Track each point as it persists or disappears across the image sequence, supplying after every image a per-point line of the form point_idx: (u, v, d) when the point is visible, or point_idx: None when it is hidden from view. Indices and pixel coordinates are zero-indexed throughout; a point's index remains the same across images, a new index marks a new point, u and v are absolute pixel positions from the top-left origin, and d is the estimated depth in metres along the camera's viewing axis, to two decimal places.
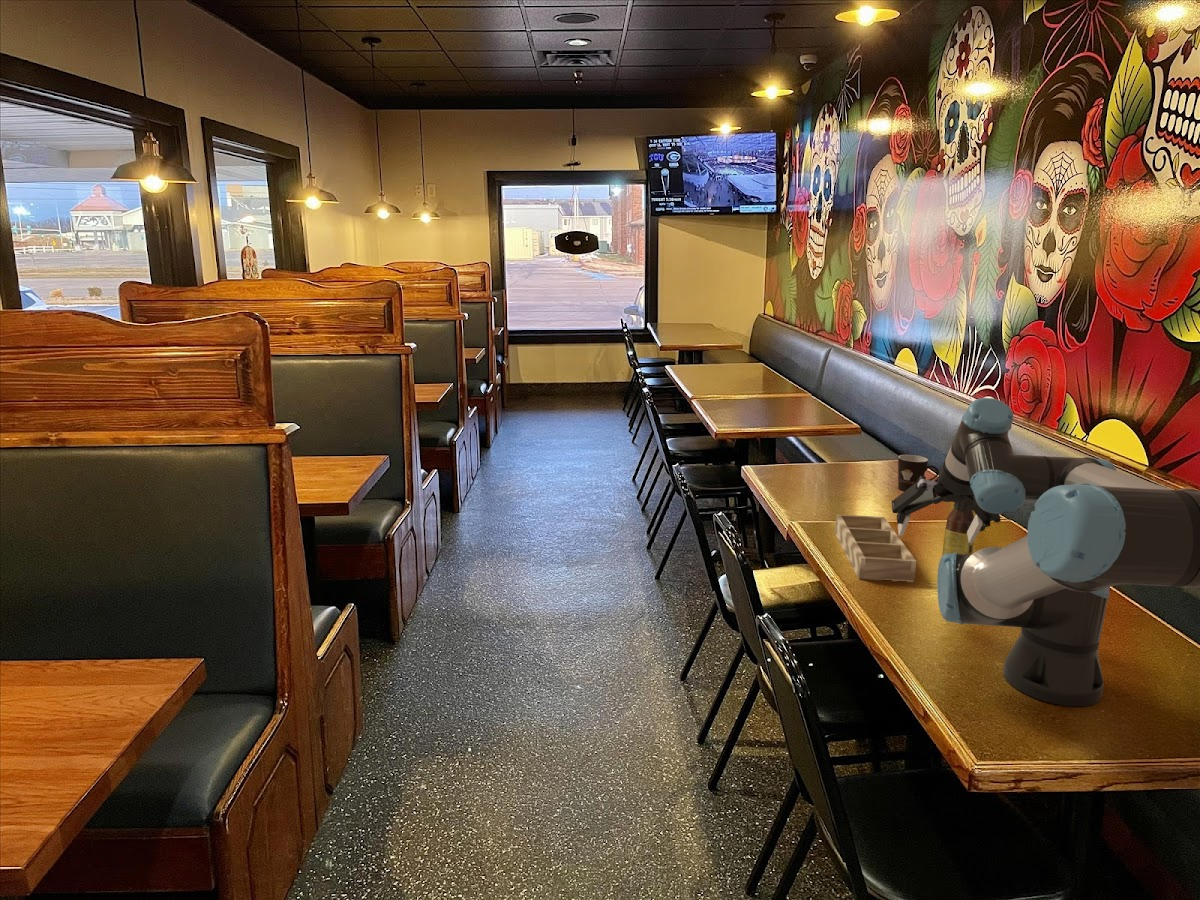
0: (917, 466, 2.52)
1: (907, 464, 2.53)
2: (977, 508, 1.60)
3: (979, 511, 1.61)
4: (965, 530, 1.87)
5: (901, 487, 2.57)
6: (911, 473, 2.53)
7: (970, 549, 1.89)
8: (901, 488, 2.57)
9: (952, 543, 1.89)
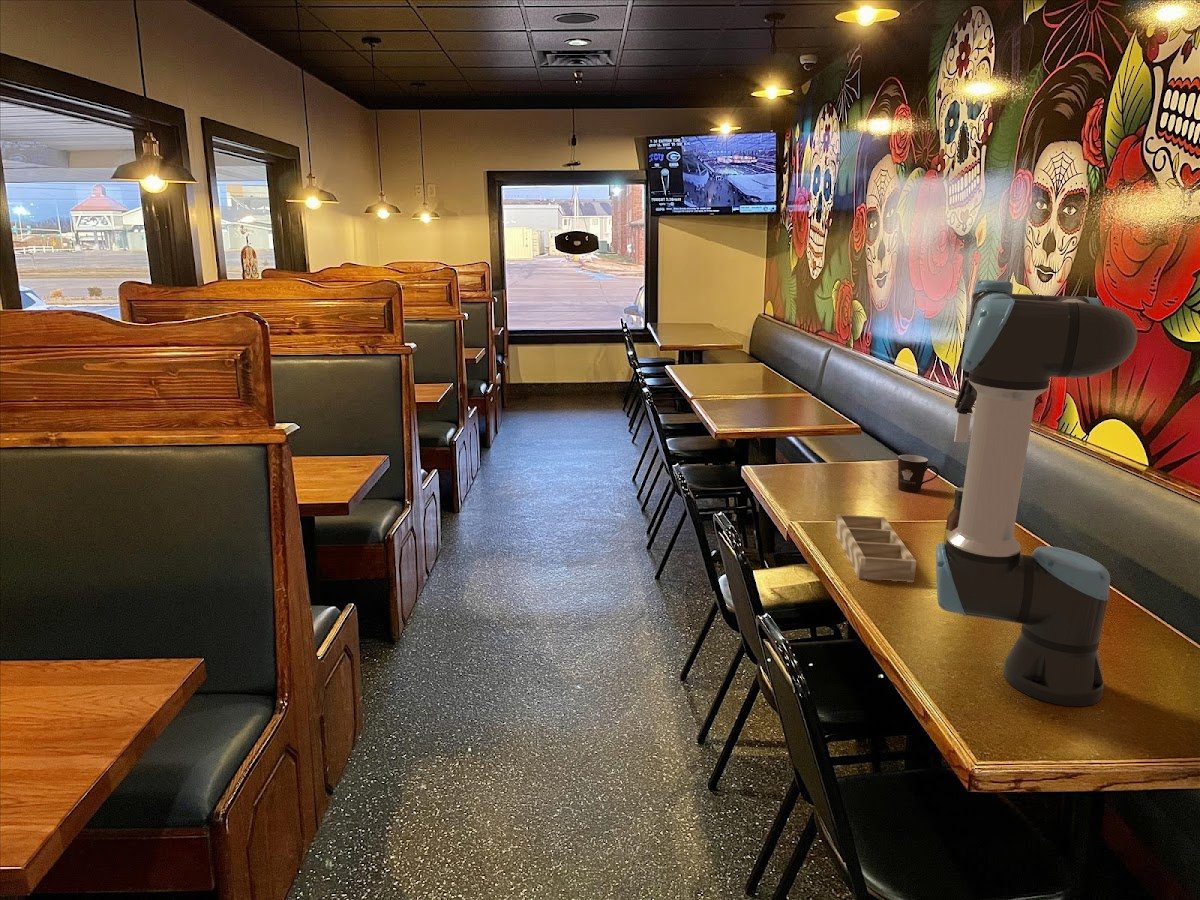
0: (917, 466, 2.52)
1: (907, 464, 2.53)
2: None
3: None
4: None
5: (901, 487, 2.57)
6: (911, 473, 2.53)
7: None
8: (901, 488, 2.57)
9: None
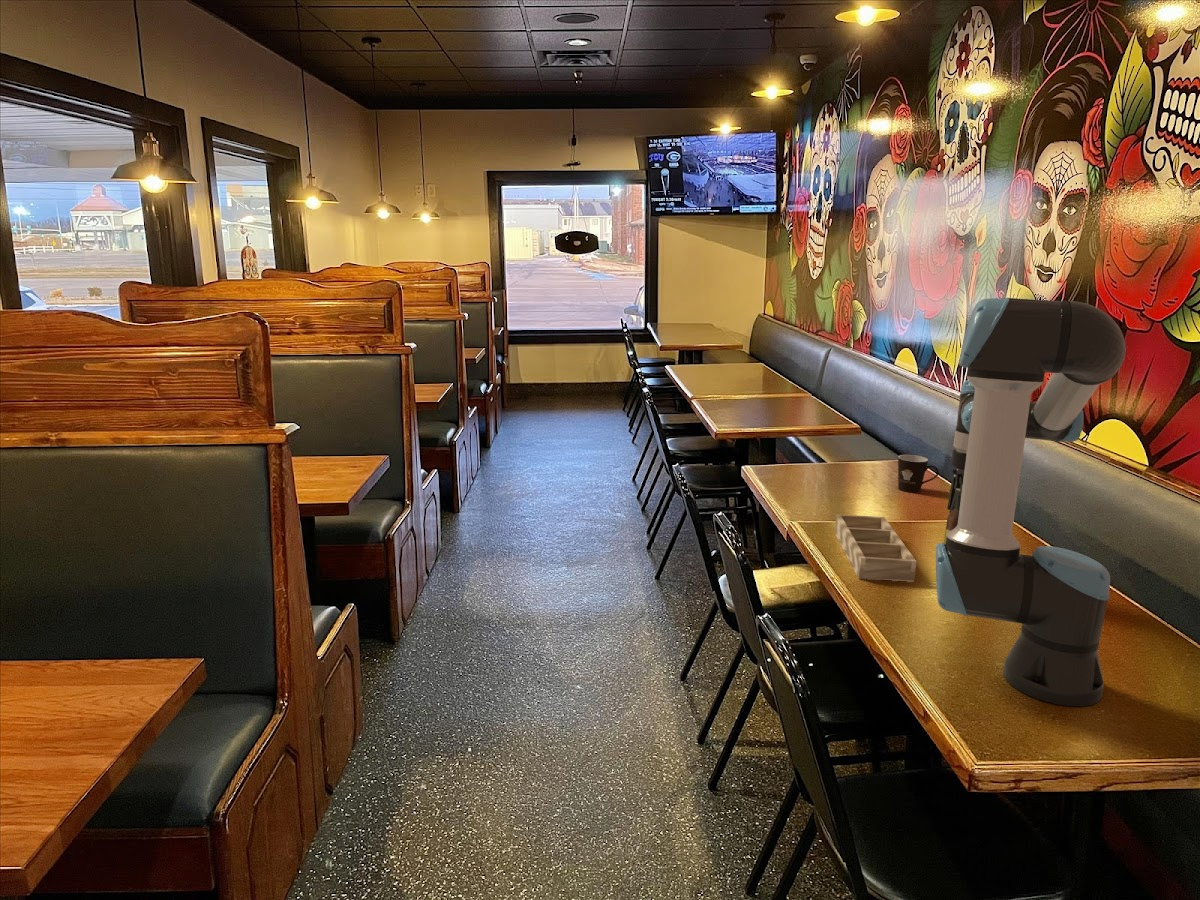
0: (917, 466, 2.52)
1: (907, 464, 2.53)
2: None
3: None
4: None
5: (901, 487, 2.57)
6: (911, 473, 2.53)
7: None
8: (901, 488, 2.57)
9: None
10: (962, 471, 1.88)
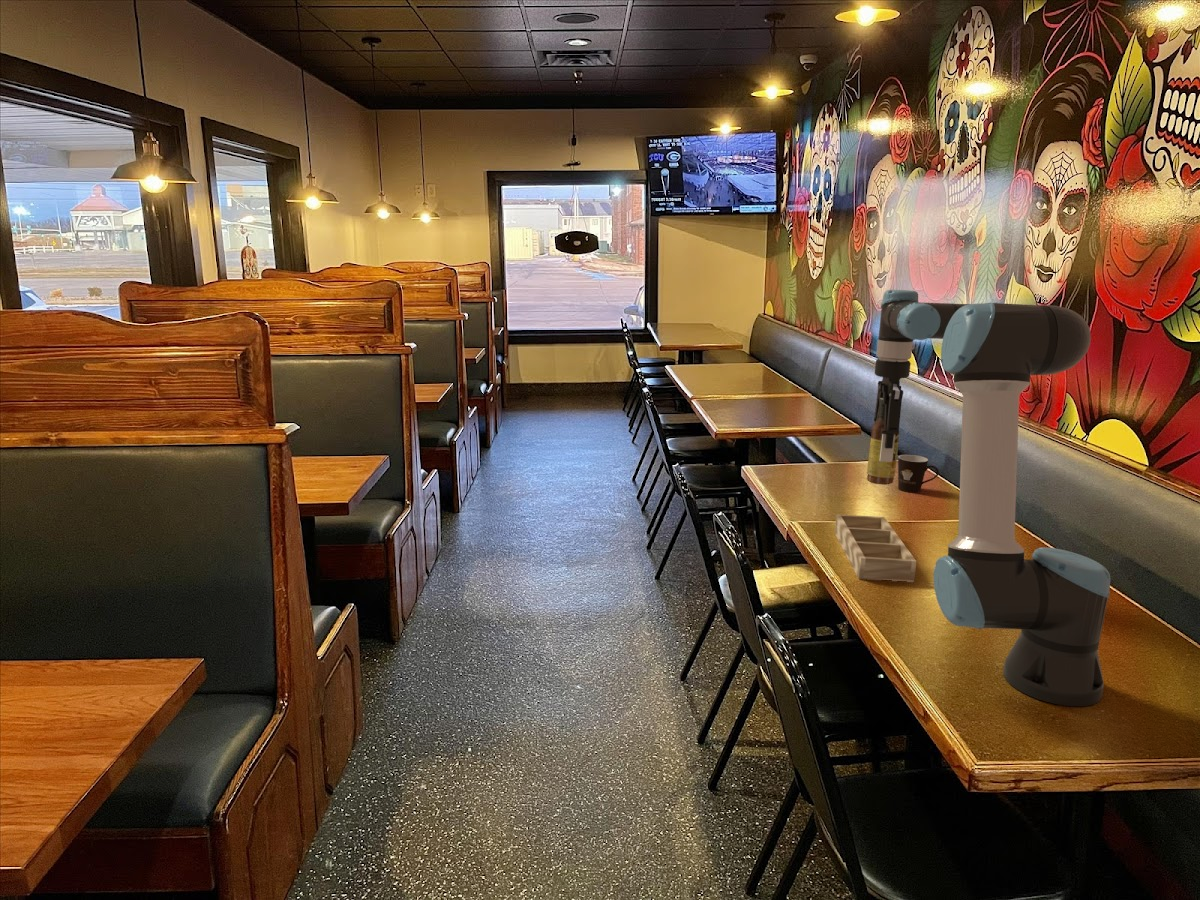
0: (917, 466, 2.52)
1: (907, 464, 2.53)
2: (885, 410, 1.90)
3: (885, 414, 1.90)
4: None
5: (901, 487, 2.57)
6: (911, 473, 2.53)
7: (893, 457, 1.93)
8: (901, 488, 2.57)
9: (876, 451, 1.94)
10: (885, 380, 1.92)
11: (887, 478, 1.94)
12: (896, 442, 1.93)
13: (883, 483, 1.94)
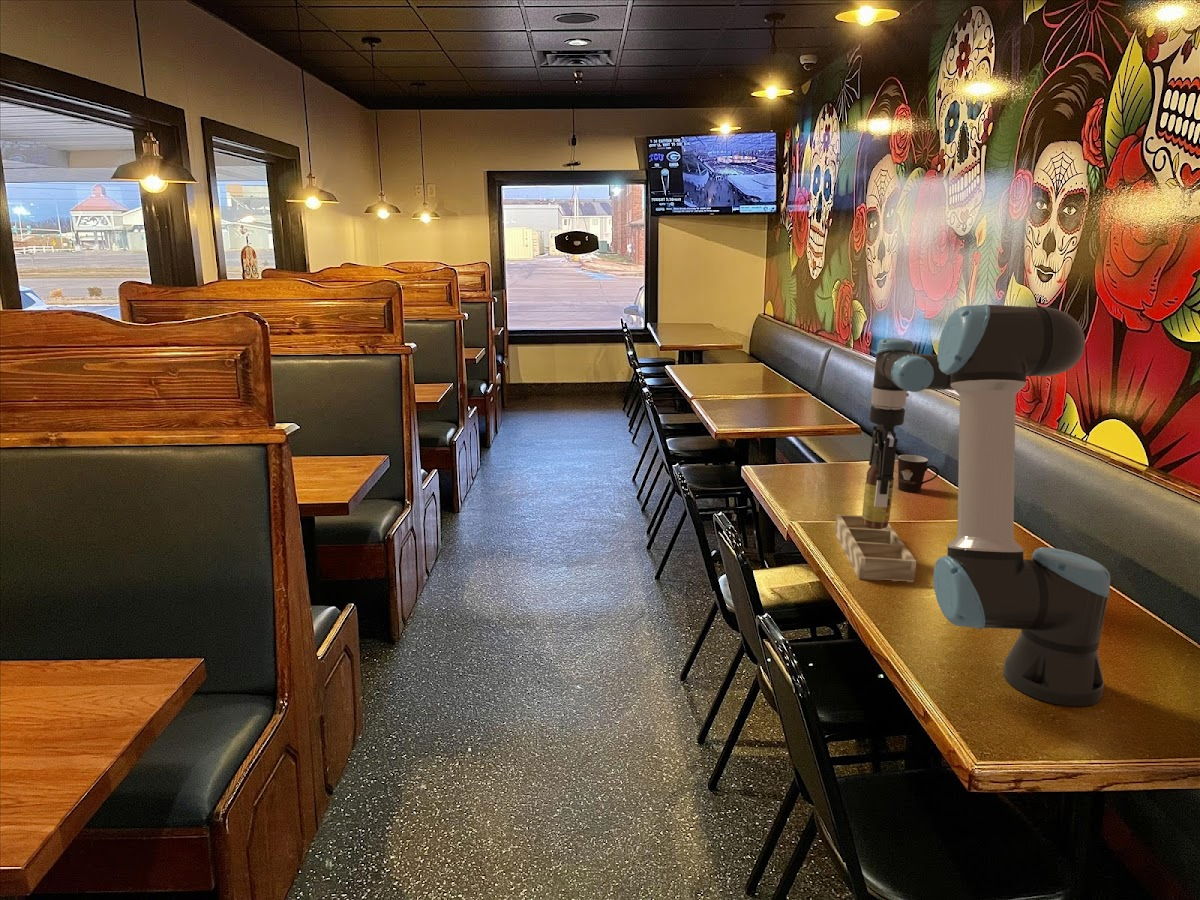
0: (917, 466, 2.52)
1: (907, 464, 2.53)
2: (880, 457, 1.93)
3: (880, 460, 1.93)
4: None
5: (901, 487, 2.57)
6: (911, 473, 2.53)
7: (888, 502, 1.96)
8: (901, 488, 2.57)
9: (870, 497, 1.96)
10: (880, 427, 1.95)
11: (882, 522, 1.97)
12: (891, 487, 1.96)
13: (878, 527, 1.97)
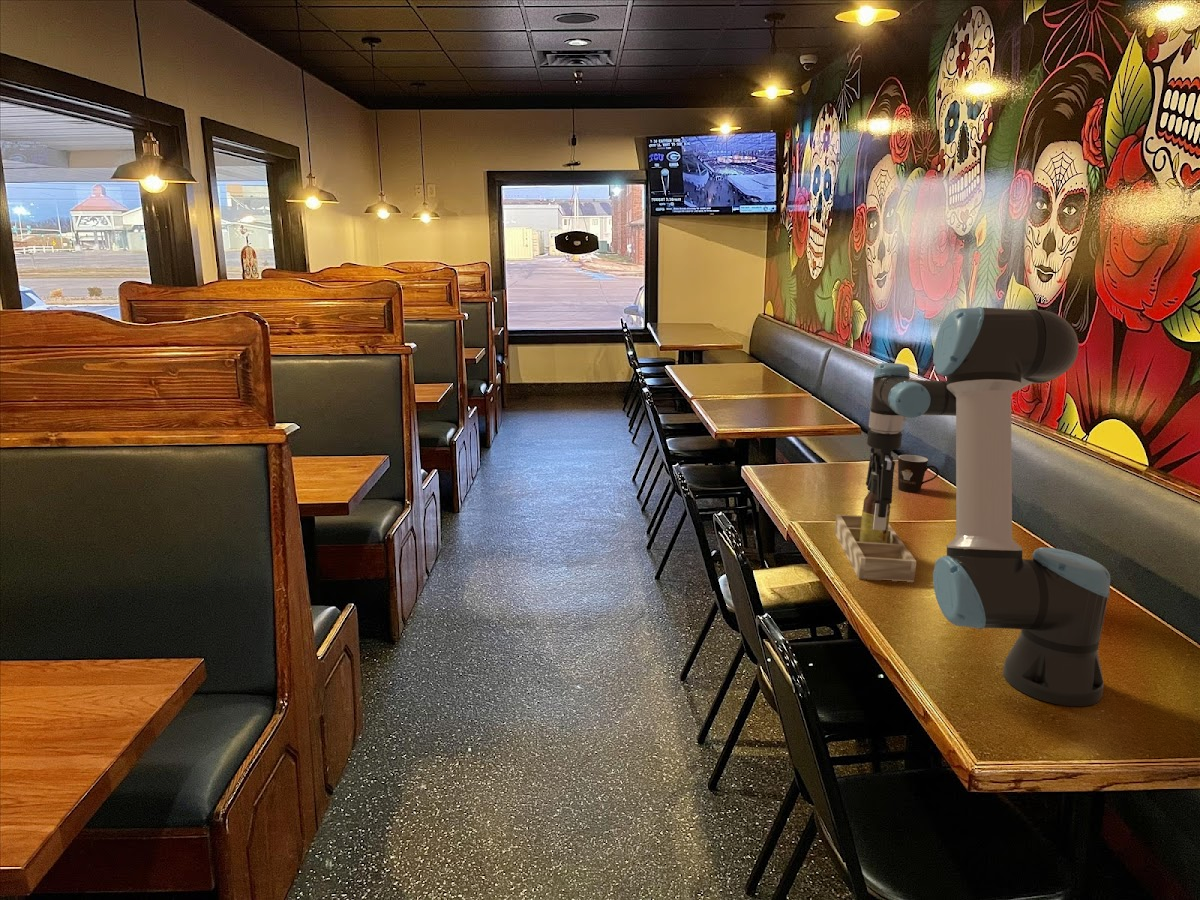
0: (917, 466, 2.52)
1: (907, 464, 2.53)
2: (878, 480, 1.94)
3: (878, 484, 1.94)
4: None
5: (901, 487, 2.57)
6: (911, 473, 2.53)
7: (885, 530, 1.98)
8: (901, 488, 2.57)
9: (867, 525, 1.98)
10: (877, 451, 1.96)
11: None
12: (887, 516, 1.97)
13: None
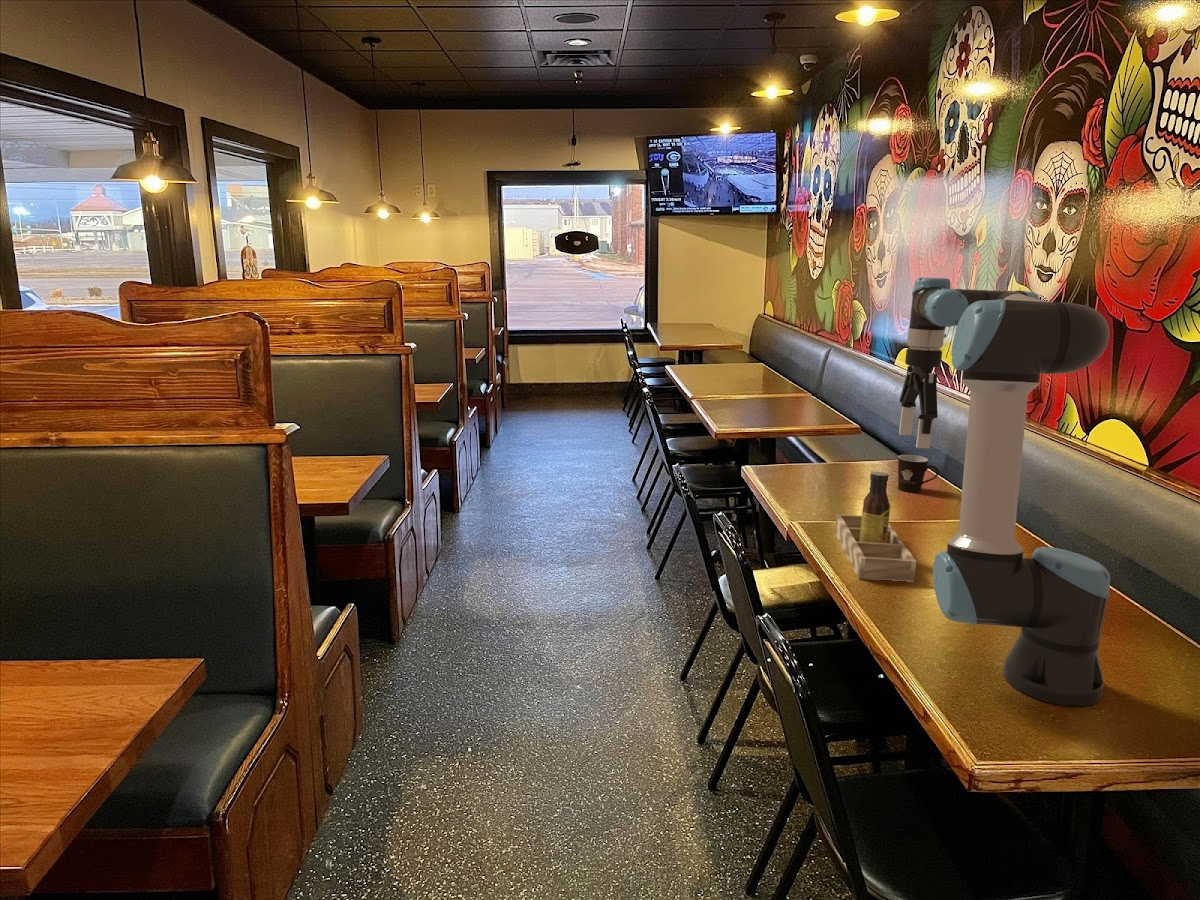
0: (917, 466, 2.52)
1: (907, 464, 2.53)
2: (920, 397, 1.85)
3: (920, 400, 1.84)
4: (879, 512, 1.97)
5: (901, 487, 2.57)
6: (911, 473, 2.53)
7: (884, 530, 1.98)
8: (901, 488, 2.57)
9: (867, 525, 1.98)
10: (915, 374, 1.89)
11: None
12: (887, 516, 1.98)
13: None
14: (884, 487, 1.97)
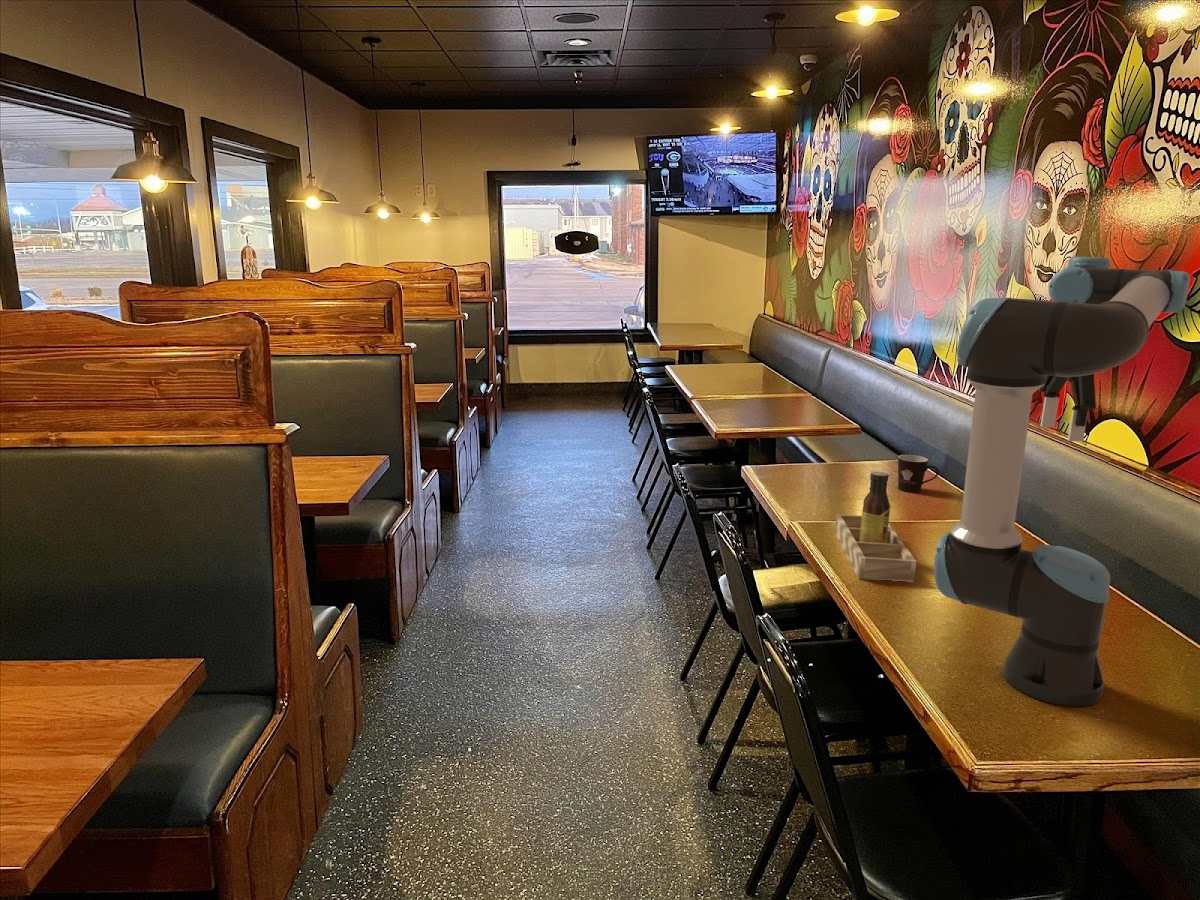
0: (917, 466, 2.52)
1: (907, 464, 2.53)
2: (1073, 386, 1.71)
3: (1074, 389, 1.70)
4: (879, 512, 1.97)
5: (901, 487, 2.57)
6: (911, 473, 2.53)
7: (884, 530, 1.98)
8: (901, 488, 2.57)
9: (867, 525, 1.98)
10: None
11: None
12: (887, 516, 1.98)
13: None
14: (884, 487, 1.97)
